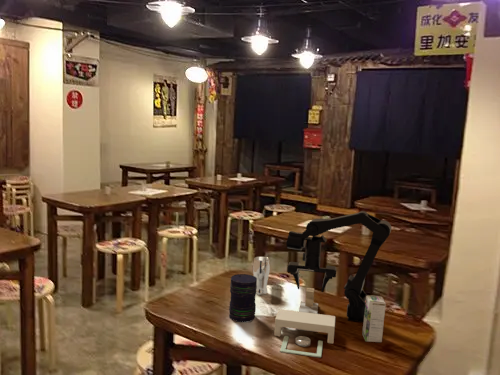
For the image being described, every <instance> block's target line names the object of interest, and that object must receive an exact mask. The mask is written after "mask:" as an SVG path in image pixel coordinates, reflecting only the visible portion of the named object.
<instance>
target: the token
mask: <svg viewBox="0 0 500 375" xmlns="http://www.w3.org/2000/svg"><path fill="white" fill-rule="evenodd" d="M294 342H295V344H296V345H297V346H299V347H303V348H304V347H305V348H306V347H309V346H311V338H309V337H307V336H305V335H303V336H302V335H299V336H296V337H295V341H294Z"/></svg>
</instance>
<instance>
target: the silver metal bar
mask: <svg viewBox="0 0 500 375" xmlns="http://www.w3.org/2000/svg"><path fill="white" fill-rule="evenodd" d="M314 296H315V287H314V288H311V287H306V291H305V301H300V304H299V308H298V309H299V310H298V312H306V313H314V314H318V312H319V310H318V309H319V303H317V302H314V299H315V298H314ZM296 330H298V331H303V330H302V329H296ZM304 331H306V332H310V331H309V330H304ZM313 332H316V333H317V331H313Z"/></svg>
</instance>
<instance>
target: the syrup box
mask: <svg viewBox="0 0 500 375" xmlns="http://www.w3.org/2000/svg"><path fill="white" fill-rule="evenodd" d="M365 302H366V304H365V313H364V322H362V323H363V324H362V325H363V326H362V336H363V339H364V341H365V342H368V343H369V342H370V343H371V342H373V343H374V342H375V343H382V342H383V334H384V333H383V332H384V321H385V313H386V304H387V302H385V299H384V297H383V296H381V295H367V296H366V301H365Z"/></svg>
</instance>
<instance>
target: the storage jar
mask: <svg viewBox="0 0 500 375" xmlns="http://www.w3.org/2000/svg"><path fill="white" fill-rule="evenodd" d="M229 286H230V287H229V288H230V289H229V292H230V301H229V305H228V311H229V315H228V317H229V319H230V320H231V321H233V322H237V323H249V322H253V321H254V320H255V318H256V310H257V309H256V306H257V304H256V292H257V291H256V289H257V278H256V277H255V276H254V275H252V274H246V273H238V274H234V275H232V276H231V277H230V285H229Z"/></svg>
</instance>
